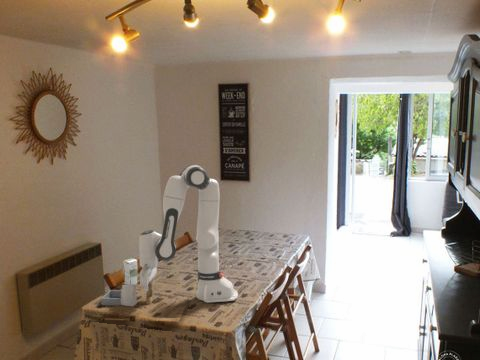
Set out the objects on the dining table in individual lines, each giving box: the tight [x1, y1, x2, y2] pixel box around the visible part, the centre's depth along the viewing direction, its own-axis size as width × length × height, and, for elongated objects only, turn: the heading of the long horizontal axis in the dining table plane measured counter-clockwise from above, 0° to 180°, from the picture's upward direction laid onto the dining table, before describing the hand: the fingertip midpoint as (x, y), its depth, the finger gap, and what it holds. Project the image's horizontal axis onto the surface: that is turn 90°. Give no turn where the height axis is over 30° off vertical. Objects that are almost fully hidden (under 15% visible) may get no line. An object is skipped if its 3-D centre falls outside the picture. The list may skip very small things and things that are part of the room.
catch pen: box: [100, 289, 122, 306], centre depth 221 cm, size 10×12×4 cm
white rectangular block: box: [120, 284, 138, 307], centre depth 216 cm, size 4×7×10 cm, turn 72°
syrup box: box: [123, 258, 139, 286], centre depth 246 cm, size 6×6×14 cm
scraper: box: [145, 280, 155, 305], centre depth 220 cm, size 3×7×10 cm, turn 177°
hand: (149, 287), depth 220 cm, fingers open, 8 cm apart
